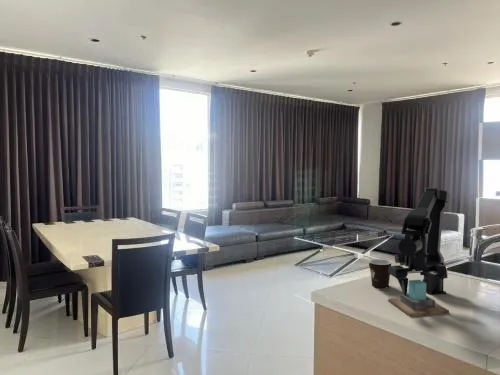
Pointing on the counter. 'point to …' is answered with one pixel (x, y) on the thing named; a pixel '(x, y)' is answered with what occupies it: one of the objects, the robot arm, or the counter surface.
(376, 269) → the coffee mug
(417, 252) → the robot arm
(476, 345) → the counter surface
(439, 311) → the well block
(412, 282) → the teal post
